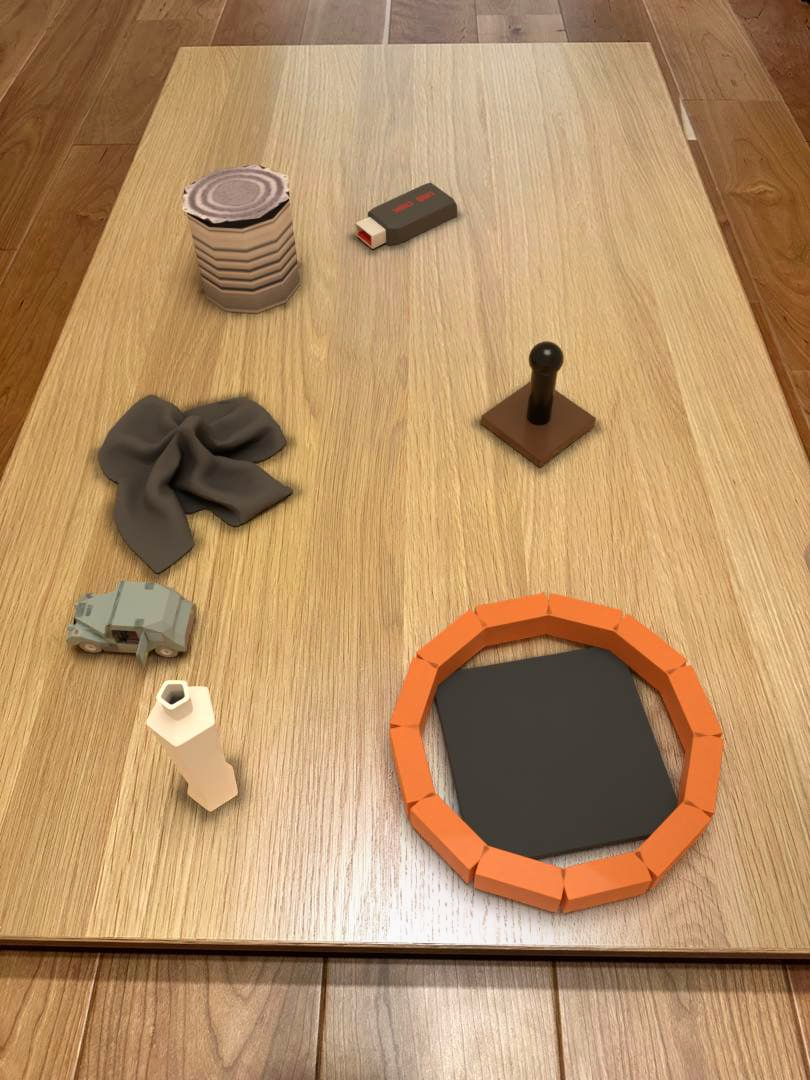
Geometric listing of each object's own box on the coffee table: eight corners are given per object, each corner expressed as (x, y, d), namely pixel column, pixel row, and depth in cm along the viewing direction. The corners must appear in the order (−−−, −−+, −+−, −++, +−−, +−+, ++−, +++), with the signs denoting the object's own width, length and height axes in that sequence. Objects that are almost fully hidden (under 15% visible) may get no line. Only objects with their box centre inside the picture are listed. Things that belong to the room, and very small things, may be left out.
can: (205, 321, 108) (183, 227, 98) (198, 258, 114) (177, 164, 105) (308, 306, 109) (296, 212, 99) (295, 244, 115) (283, 151, 106)
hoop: (331, 741, 76) (327, 723, 74) (541, 567, 86) (545, 547, 84) (563, 985, 65) (568, 974, 63) (775, 754, 75) (787, 737, 73)
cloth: (101, 404, 100) (85, 359, 95) (283, 384, 101) (275, 339, 96) (90, 582, 87) (70, 540, 82) (299, 556, 88) (291, 514, 83)
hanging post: (480, 423, 98) (485, 344, 89) (535, 385, 101) (545, 304, 92) (539, 468, 94) (550, 389, 86) (594, 426, 97) (610, 346, 89)
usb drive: (457, 215, 118) (458, 195, 116) (377, 254, 114) (376, 234, 112) (430, 196, 121) (430, 176, 119) (351, 233, 117) (350, 213, 114)
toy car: (86, 609, 85) (70, 577, 81) (199, 616, 84) (188, 584, 81) (65, 675, 81) (47, 644, 77) (183, 682, 81) (171, 652, 77)
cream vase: (229, 823, 73) (190, 735, 61) (176, 805, 74) (128, 715, 62) (254, 768, 76) (222, 674, 64) (203, 751, 77) (162, 655, 65)
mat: (618, 647, 82) (619, 642, 81) (685, 831, 72) (687, 827, 72) (430, 679, 80) (430, 674, 80) (473, 871, 71) (474, 867, 70)
